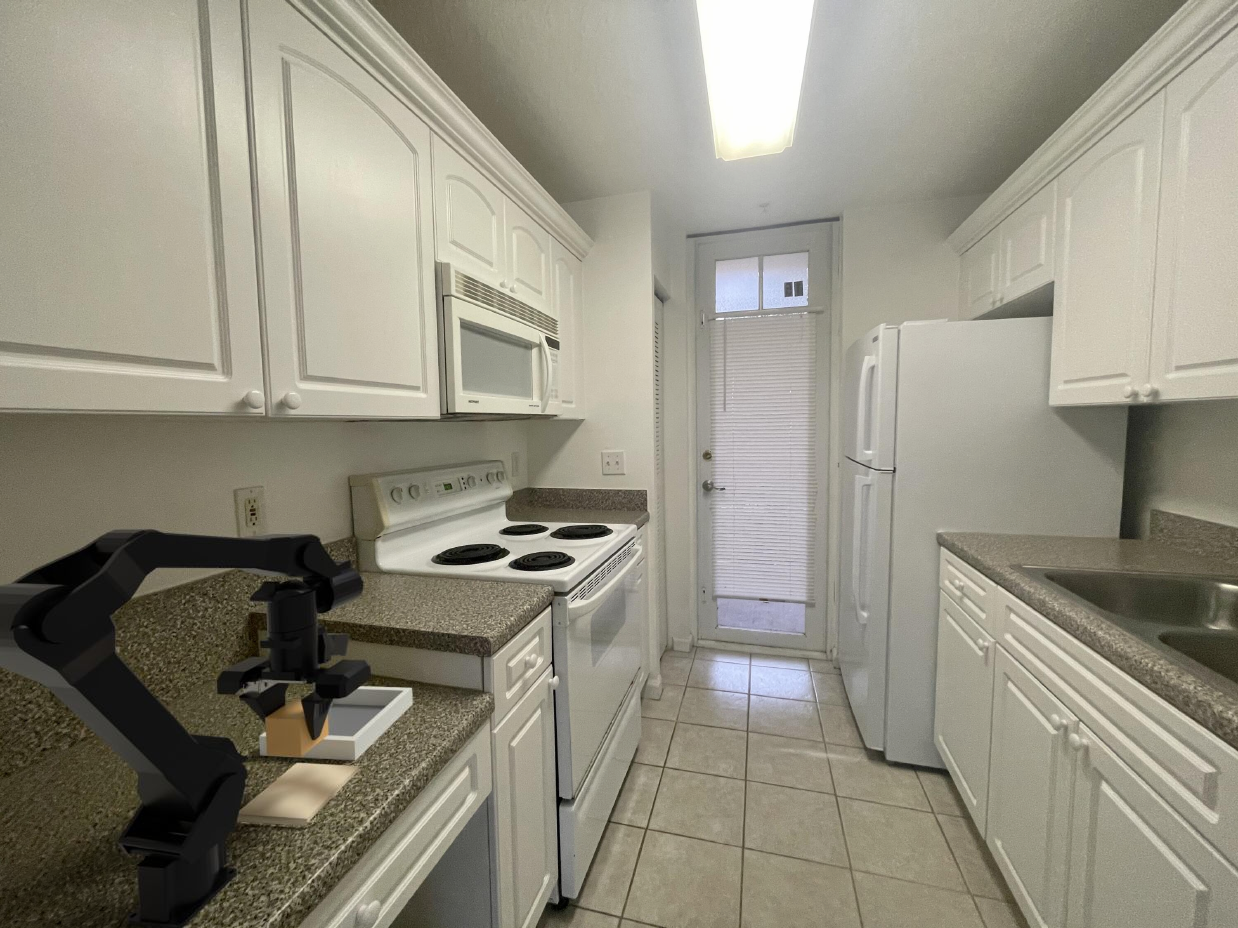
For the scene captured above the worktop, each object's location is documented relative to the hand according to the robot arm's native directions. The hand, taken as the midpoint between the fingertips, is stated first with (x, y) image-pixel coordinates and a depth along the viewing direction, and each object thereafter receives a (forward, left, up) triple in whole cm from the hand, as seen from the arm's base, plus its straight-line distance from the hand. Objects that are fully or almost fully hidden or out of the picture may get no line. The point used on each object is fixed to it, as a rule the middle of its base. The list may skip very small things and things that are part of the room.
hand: (298, 737), depth 66 cm
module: (0, 0, -1) cm, 1 cm away
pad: (0, 0, -8) cm, 8 cm away
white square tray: (+15, +5, -8) cm, 18 cm away
